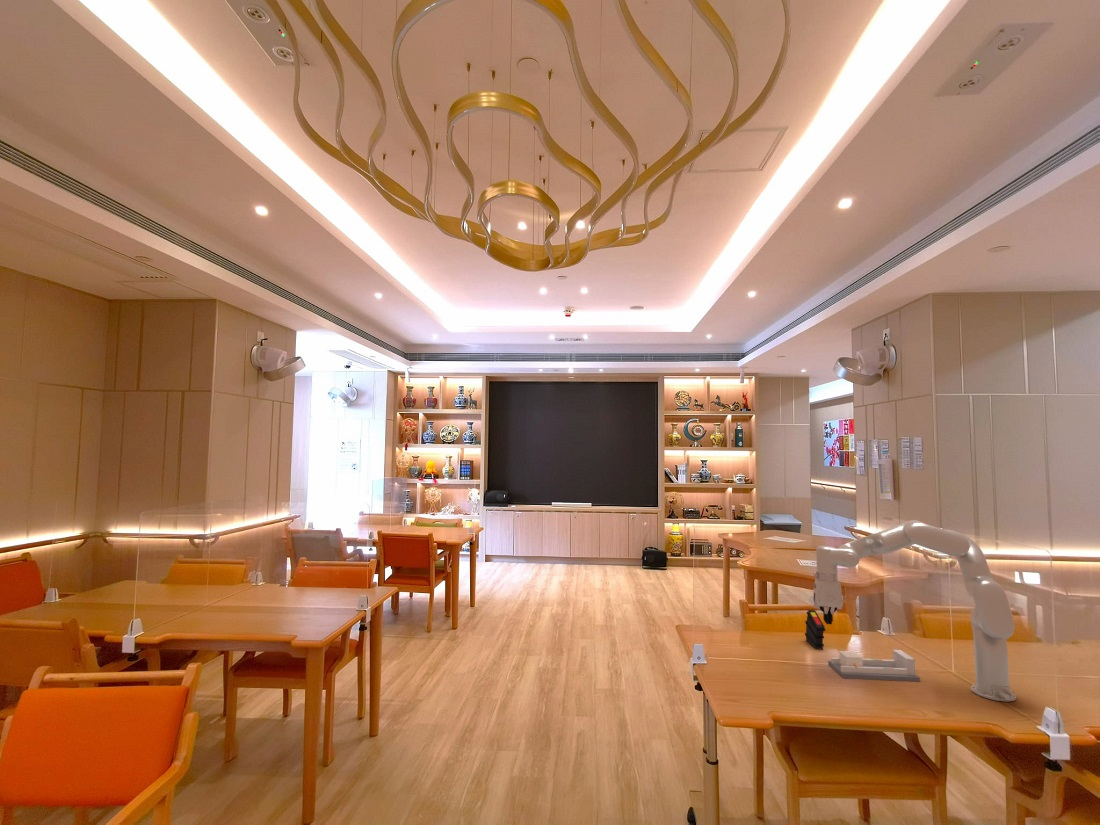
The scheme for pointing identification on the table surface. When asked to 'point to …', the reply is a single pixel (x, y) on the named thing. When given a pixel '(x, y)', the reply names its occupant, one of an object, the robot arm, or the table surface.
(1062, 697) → the table surface
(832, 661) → the board
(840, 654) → the block
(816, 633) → the black ridged block
